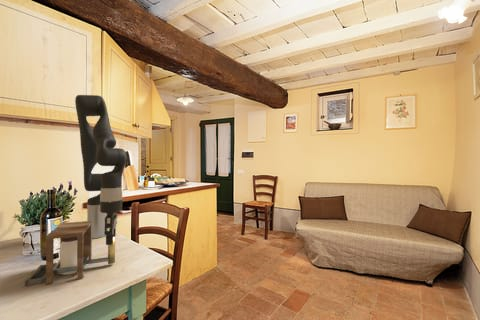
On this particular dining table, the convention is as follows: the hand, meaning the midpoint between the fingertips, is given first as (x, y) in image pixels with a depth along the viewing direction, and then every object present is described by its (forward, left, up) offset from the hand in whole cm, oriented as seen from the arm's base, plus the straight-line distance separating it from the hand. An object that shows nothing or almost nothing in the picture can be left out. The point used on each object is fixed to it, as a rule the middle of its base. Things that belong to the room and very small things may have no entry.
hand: (110, 240), depth 88 cm
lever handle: (0, -8, -9) cm, 12 cm away
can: (0, -13, -10) cm, 16 cm away
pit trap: (0, -21, -10) cm, 23 cm away
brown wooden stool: (0, -13, -10) cm, 16 cm away
